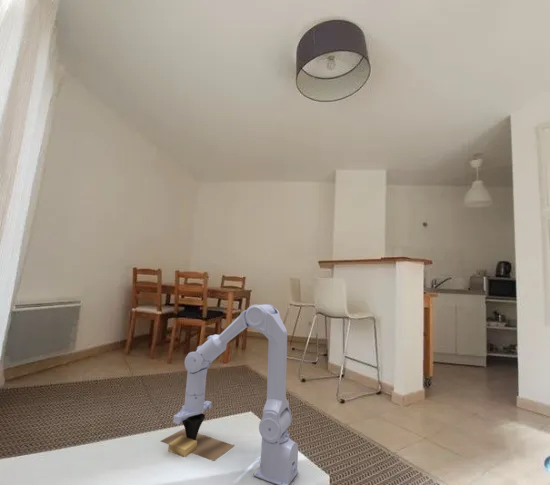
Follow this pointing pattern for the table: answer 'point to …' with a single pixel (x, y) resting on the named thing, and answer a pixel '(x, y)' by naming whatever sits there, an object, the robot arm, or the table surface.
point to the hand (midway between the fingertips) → (191, 441)
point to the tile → (182, 446)
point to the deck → (204, 445)
